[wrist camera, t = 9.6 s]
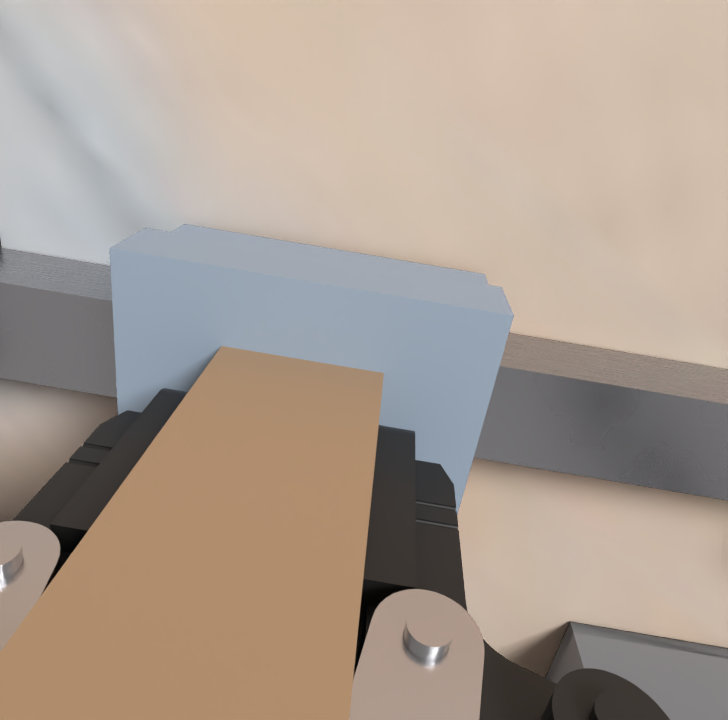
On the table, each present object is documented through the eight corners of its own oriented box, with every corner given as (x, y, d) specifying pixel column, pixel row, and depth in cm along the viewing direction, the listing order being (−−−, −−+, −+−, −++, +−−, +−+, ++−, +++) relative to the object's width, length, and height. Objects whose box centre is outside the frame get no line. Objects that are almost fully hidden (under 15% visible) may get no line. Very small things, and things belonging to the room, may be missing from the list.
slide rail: (924, 502, 15) (1043, 601, 12) (-45, 340, 15) (-150, 400, 12) (1002, 399, 14) (1156, 482, 11) (-66, 221, 14) (-191, 257, 11)
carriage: (435, 469, 16) (470, 1066, 6) (182, 427, 16) (-171, 956, 6) (488, 257, 13) (692, 730, 4) (184, 206, 13) (-422, 539, 4)
